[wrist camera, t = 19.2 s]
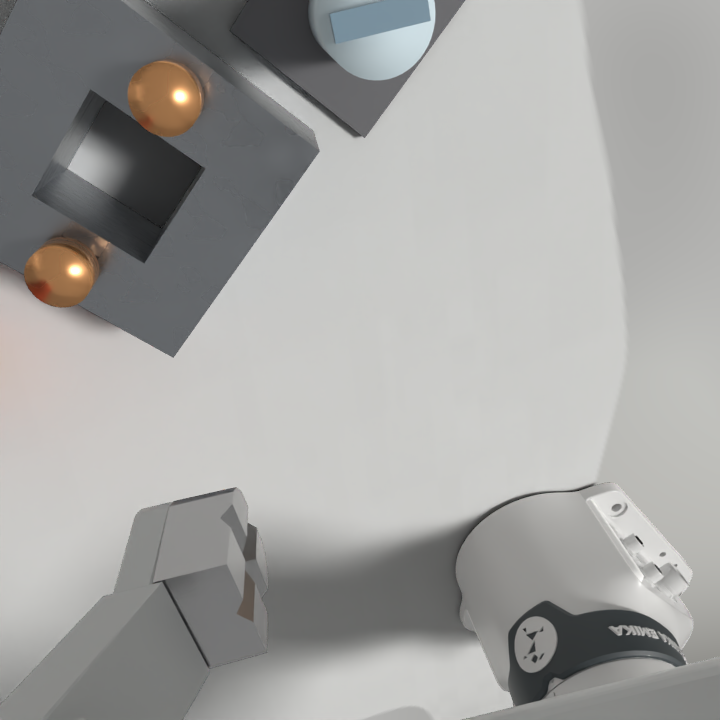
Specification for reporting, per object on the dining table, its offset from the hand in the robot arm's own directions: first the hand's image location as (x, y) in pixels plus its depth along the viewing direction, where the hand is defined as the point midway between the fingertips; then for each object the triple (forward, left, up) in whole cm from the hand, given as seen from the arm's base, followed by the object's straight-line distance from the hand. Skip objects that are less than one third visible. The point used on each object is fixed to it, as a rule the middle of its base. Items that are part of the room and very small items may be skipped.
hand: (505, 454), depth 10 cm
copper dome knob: (+8, +3, -27) cm, 28 cm away
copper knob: (+8, +13, -27) cm, 31 cm away
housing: (+8, +8, -31) cm, 33 cm away
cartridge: (+3, -5, -30) cm, 31 cm away
